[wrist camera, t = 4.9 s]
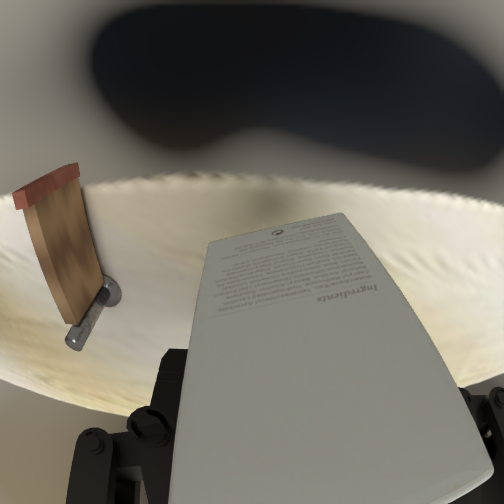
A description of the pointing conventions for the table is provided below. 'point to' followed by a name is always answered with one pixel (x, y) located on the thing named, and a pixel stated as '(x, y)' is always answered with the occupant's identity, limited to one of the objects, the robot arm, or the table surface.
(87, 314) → the pivot post
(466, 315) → the table surface
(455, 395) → the small box
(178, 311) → the table surface
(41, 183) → the gate
